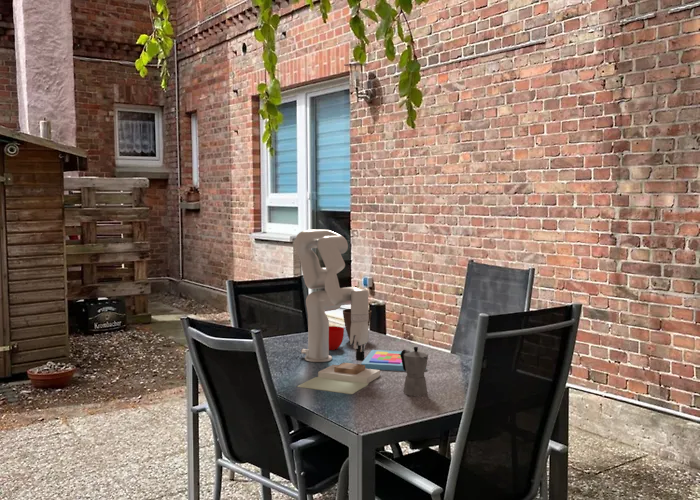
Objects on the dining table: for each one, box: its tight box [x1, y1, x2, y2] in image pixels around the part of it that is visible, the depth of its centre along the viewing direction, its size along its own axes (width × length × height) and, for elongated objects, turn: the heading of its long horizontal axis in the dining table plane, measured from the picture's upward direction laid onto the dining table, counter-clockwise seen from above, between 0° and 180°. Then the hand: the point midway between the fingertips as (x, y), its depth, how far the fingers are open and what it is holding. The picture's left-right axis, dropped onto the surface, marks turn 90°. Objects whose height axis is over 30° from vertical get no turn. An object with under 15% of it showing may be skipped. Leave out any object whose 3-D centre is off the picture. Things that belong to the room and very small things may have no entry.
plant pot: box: [342, 308, 372, 341], centre depth 364 cm, size 15×15×16 cm
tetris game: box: [360, 349, 406, 372], centre depth 317 cm, size 28×3×28 cm
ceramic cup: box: [329, 325, 345, 351], centre depth 347 cm, size 13×17×10 cm
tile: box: [334, 362, 365, 374], centre depth 292 cm, size 10×9×2 cm
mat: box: [296, 376, 370, 395], centre depth 279 cm, size 24×16×1 cm, turn 65°
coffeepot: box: [401, 346, 429, 397], centre depth 269 cm, size 15×9×18 cm, turn 35°
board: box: [317, 364, 381, 384], centre depth 292 cm, size 22×14×2 cm, turn 65°
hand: (360, 360), depth 300 cm, fingers closed
